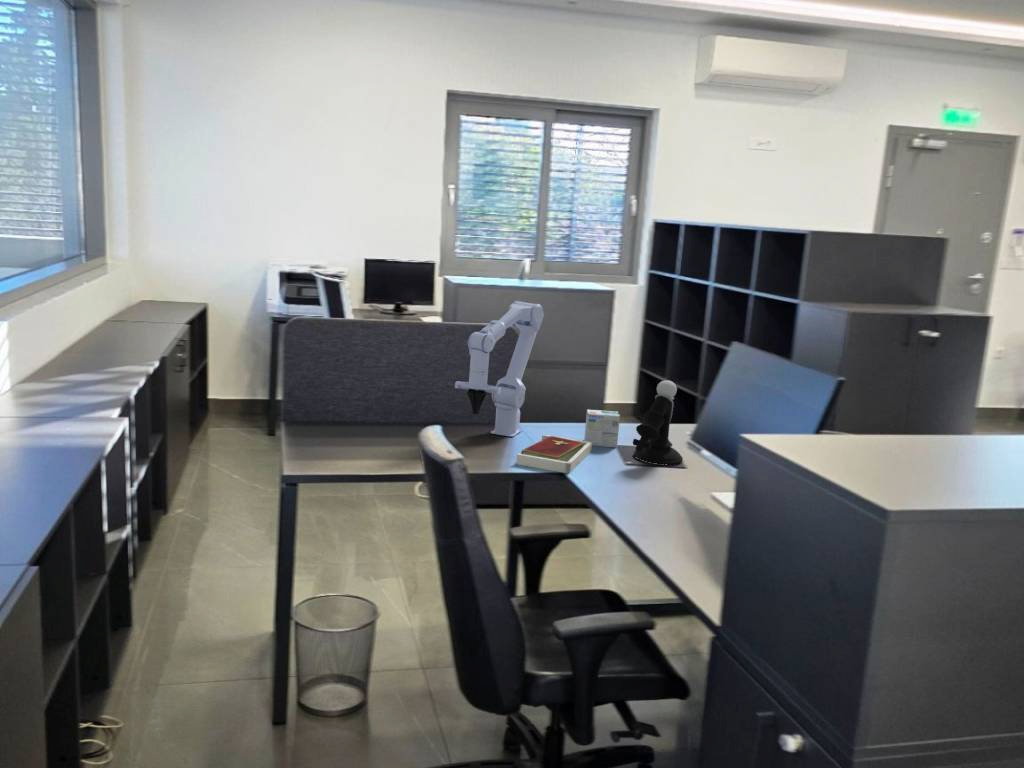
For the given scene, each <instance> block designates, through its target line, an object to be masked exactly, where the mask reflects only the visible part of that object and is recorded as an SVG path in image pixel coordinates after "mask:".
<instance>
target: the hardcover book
mask: <svg viewBox="0 0 1024 768" xmlns="http://www.w3.org/2000/svg"><path fill="white" fill-rule="evenodd" d="M560 437H561V436H556V437H555V435H550V437H548V438H546V439H544V440H542V439H541V440H540V441H538V442H535V443H533V444H531V445H530V446H527V447H526V448H524V449H522V450H521V453H520V454H524V455H530V456H536V457H542V458H547V459H553V460H559V461H565V462H568V461H569V460H570V459H571V458H572V457H573V456H574V455H575V454H576V453H577V452H578V451H579V450H580V449H582V448H583V444H585V443H584V442H579V441H574V440H575V439H574V440H569V439H570V438H568V439H565V438H566V437H562V438H560Z"/></svg>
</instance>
